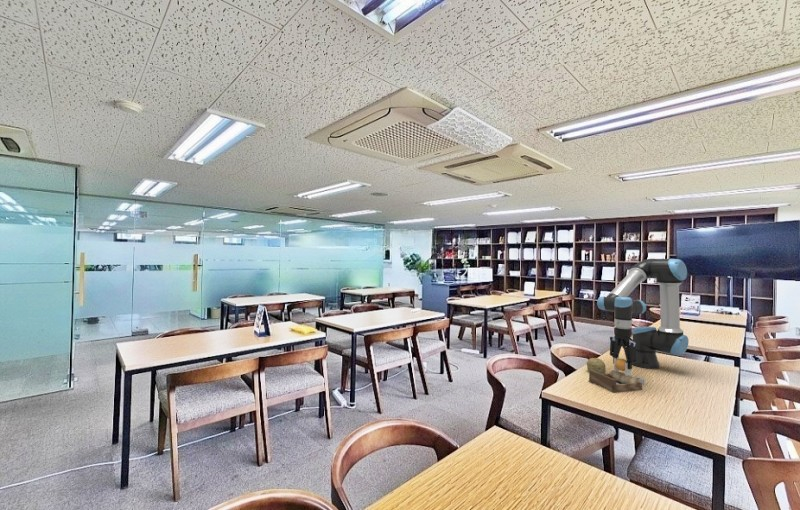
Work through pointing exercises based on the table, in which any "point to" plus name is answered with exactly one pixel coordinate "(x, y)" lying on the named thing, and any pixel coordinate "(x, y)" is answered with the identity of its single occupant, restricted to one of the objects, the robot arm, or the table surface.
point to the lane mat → (616, 384)
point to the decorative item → (596, 365)
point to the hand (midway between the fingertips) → (622, 372)
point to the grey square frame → (640, 379)
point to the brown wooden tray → (610, 381)
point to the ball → (620, 364)
